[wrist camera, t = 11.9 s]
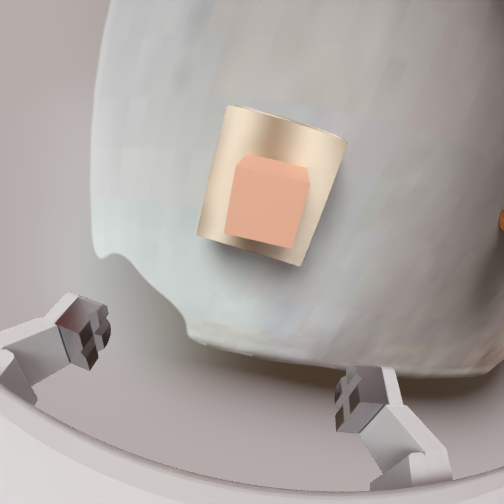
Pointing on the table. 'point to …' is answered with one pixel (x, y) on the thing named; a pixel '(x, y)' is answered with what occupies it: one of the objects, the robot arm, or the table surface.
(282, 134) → the birch block
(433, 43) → the table surface
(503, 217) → the grey faceted figure
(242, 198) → the terracotta cube
